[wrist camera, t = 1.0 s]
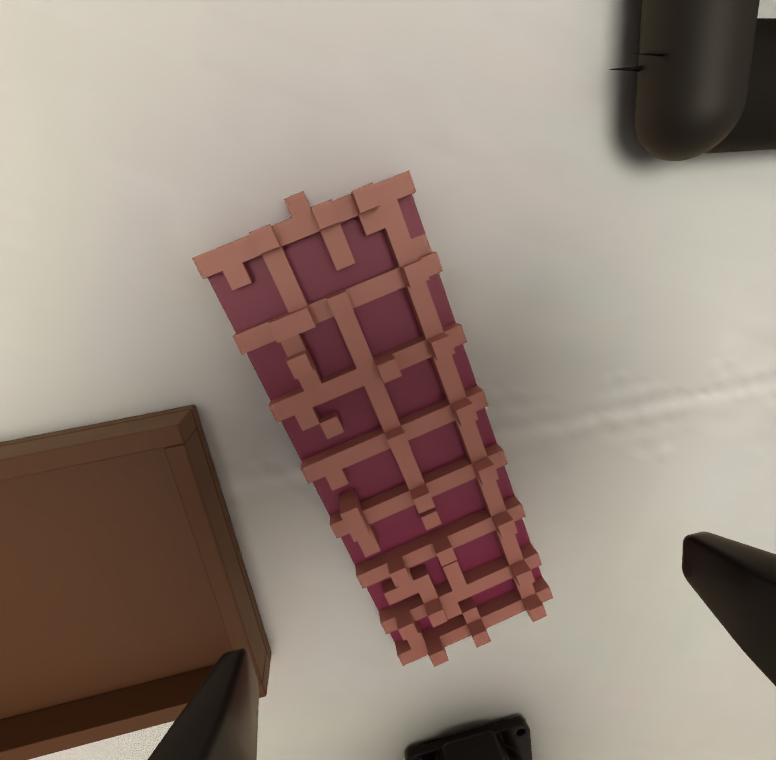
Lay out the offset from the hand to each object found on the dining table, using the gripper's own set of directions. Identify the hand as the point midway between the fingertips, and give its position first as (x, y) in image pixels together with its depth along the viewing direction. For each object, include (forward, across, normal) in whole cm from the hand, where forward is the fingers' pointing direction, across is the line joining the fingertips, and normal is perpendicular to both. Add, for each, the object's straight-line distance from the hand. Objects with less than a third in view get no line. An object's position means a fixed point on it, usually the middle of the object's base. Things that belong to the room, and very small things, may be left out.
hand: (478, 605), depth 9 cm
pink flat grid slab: (+9, 0, 0) cm, 9 cm away
